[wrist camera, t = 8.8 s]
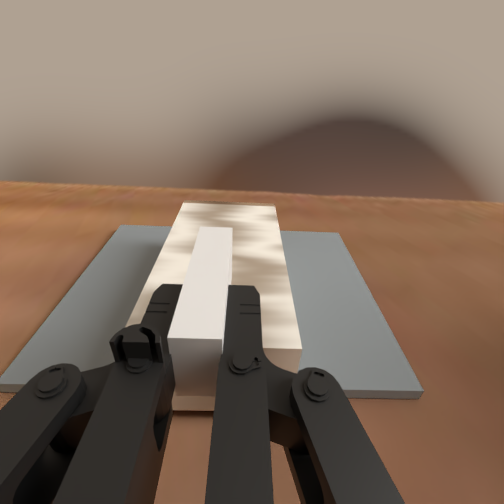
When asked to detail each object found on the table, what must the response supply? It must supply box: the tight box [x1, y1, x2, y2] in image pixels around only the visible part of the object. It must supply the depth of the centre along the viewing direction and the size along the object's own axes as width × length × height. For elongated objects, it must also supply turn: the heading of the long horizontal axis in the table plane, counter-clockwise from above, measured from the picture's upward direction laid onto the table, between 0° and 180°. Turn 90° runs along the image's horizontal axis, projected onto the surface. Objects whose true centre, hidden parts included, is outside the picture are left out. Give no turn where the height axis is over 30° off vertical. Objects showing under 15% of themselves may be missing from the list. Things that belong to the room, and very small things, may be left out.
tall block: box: [125, 200, 302, 411], centre depth 21 cm, size 8×5×16 cm
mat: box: [0, 225, 424, 399], centre depth 25 cm, size 24×19×1 cm
